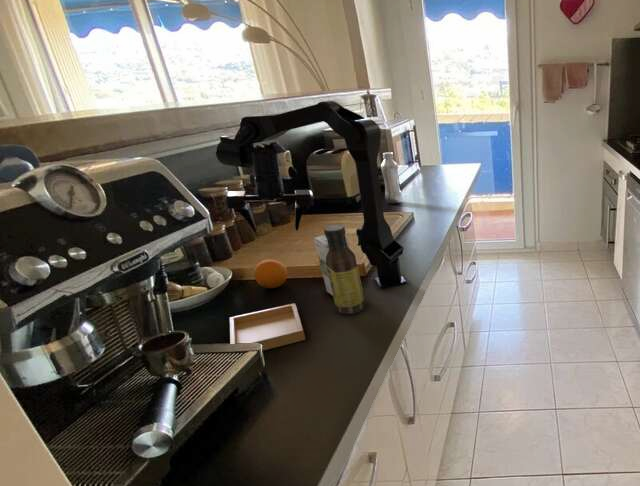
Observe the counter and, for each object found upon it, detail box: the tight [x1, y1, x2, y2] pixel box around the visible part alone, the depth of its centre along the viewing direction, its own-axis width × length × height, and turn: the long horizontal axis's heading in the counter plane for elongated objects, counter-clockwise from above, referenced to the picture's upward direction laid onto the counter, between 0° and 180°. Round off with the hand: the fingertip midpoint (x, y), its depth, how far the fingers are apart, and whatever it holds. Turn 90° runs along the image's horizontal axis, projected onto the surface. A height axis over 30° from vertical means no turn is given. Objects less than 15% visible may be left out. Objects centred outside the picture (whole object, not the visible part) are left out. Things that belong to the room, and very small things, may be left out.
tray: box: [229, 302, 306, 351], centre depth 93 cm, size 14×13×2 cm
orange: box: [253, 259, 288, 289], centre depth 111 cm, size 7×7×7 cm
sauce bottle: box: [323, 224, 365, 315], centre depth 98 cm, size 6×6×20 cm
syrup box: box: [313, 234, 350, 297], centre depth 107 cm, size 6×6×14 cm
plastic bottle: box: [380, 151, 403, 204], centre depth 180 cm, size 6×7×20 cm
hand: (276, 231), depth 115 cm, fingers open, 9 cm apart
